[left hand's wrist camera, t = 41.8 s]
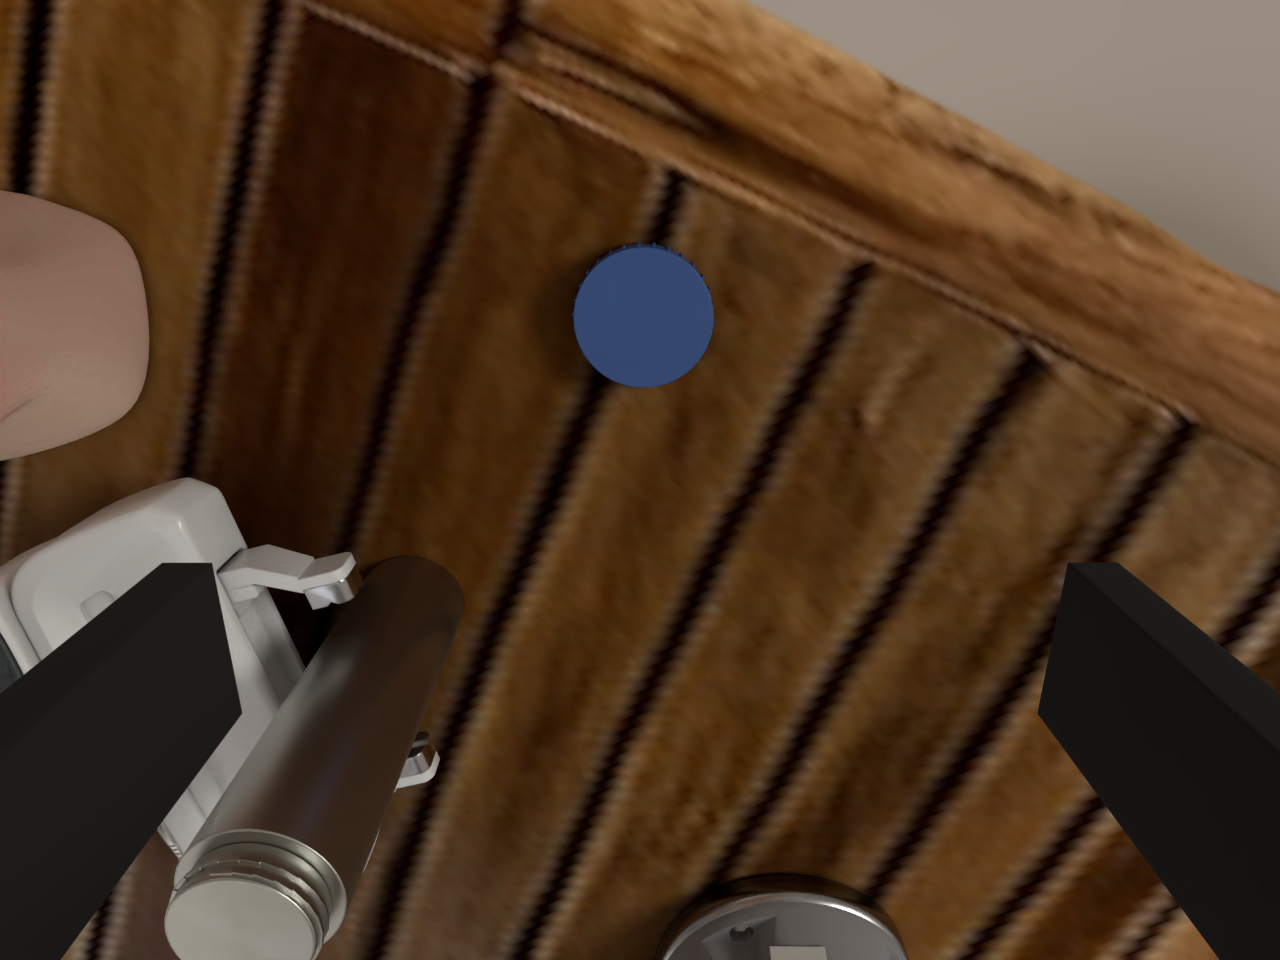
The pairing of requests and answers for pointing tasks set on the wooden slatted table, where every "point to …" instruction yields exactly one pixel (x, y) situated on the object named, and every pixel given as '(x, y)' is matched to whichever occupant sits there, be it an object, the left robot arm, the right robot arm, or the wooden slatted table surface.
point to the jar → (318, 778)
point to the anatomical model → (65, 325)
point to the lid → (643, 315)
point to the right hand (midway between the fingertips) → (395, 668)
